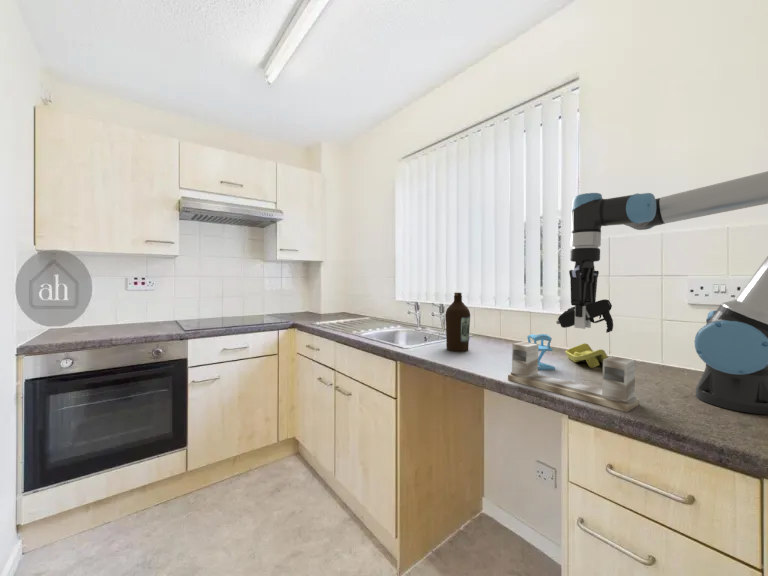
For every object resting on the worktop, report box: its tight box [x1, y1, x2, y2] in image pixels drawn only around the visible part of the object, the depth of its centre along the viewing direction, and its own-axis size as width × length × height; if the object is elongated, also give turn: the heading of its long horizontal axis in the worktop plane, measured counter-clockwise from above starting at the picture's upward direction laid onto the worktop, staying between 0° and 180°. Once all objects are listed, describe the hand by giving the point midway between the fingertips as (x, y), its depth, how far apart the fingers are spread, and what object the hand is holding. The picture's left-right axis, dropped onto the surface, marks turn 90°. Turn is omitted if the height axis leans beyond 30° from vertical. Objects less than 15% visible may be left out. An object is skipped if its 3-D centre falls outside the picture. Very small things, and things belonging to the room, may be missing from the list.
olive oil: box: [445, 292, 471, 353], centre depth 146 cm, size 11×11×25 cm
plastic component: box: [565, 343, 609, 369], centre depth 123 cm, size 20×7×10 cm
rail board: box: [507, 341, 640, 413], centre depth 92 cm, size 31×8×11 cm, turn 37°
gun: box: [556, 299, 614, 333], centre depth 98 cm, size 3×16×10 cm, turn 35°
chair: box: [526, 333, 556, 371], centre depth 118 cm, size 8×8×12 cm
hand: (582, 327), depth 99 cm, fingers closed on gun, 3 cm apart
